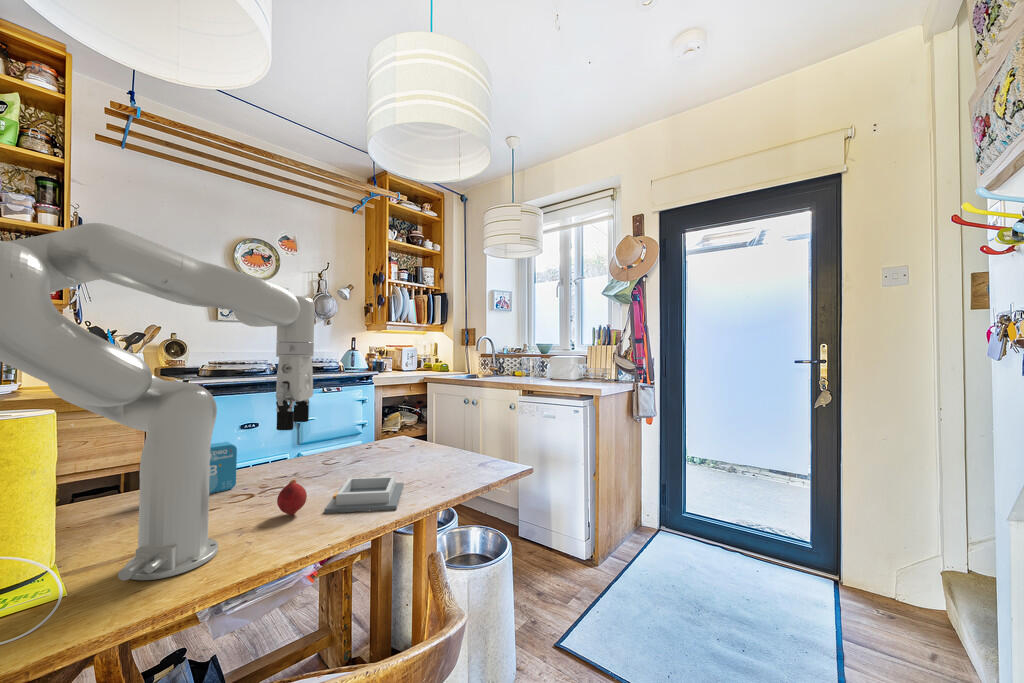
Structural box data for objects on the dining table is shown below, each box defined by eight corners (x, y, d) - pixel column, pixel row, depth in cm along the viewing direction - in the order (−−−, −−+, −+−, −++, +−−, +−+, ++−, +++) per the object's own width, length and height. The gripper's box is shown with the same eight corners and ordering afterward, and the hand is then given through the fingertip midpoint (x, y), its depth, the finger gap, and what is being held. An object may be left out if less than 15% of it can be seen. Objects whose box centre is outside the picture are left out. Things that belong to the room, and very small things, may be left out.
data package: (178, 500, 98) (179, 451, 98) (175, 496, 101) (176, 448, 101) (236, 488, 107) (237, 443, 107) (231, 484, 110) (232, 440, 110)
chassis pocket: (396, 509, 94) (396, 494, 94) (324, 513, 92) (324, 498, 92) (403, 486, 110) (403, 473, 110) (342, 488, 108) (342, 475, 108)
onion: (297, 520, 88) (297, 484, 88) (271, 520, 88) (272, 483, 88) (310, 510, 94) (311, 475, 94) (286, 509, 94) (287, 475, 94)
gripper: (299, 351, 84) (297, 433, 83) (323, 350, 101) (322, 418, 100) (260, 350, 82) (258, 434, 82) (291, 350, 99) (290, 419, 99)
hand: (293, 425), depth 91 cm, fingers open, 9 cm apart
